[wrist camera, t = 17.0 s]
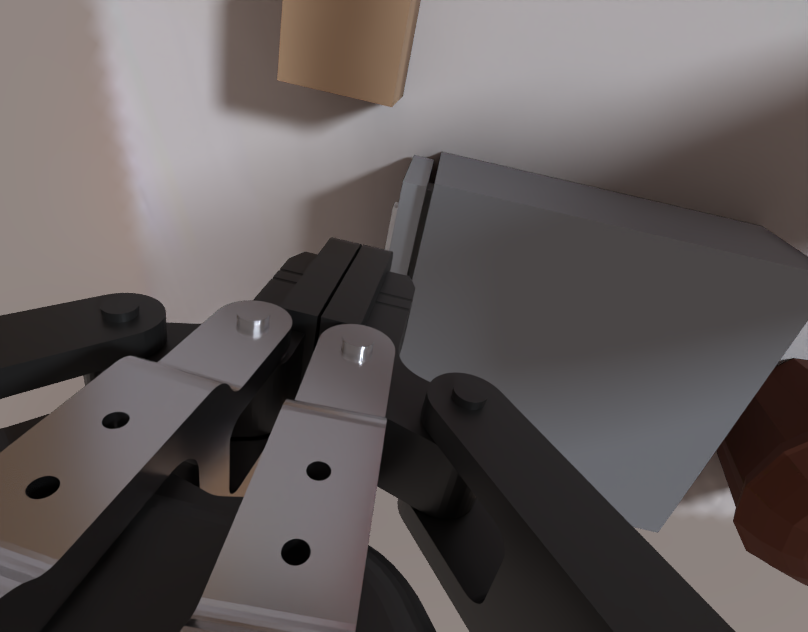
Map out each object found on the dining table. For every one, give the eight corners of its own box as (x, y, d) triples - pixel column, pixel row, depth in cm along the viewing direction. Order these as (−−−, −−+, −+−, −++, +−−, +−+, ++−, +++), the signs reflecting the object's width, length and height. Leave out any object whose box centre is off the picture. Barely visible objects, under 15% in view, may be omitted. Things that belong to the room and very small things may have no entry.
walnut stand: (425, -23, 22) (416, -33, 18) (402, 95, 24) (391, 107, 21) (315, -49, 22) (286, -63, 18) (304, 72, 24) (277, 80, 21)
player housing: (762, 226, 25) (838, 277, 20) (628, 454, 33) (658, 532, 28) (441, 151, 25) (434, 183, 20) (384, 397, 33) (368, 465, 28)
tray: (728, 228, 25) (781, 269, 21) (607, 447, 33) (628, 510, 29) (409, 153, 25) (397, 180, 21) (361, 390, 33) (345, 445, 29)
